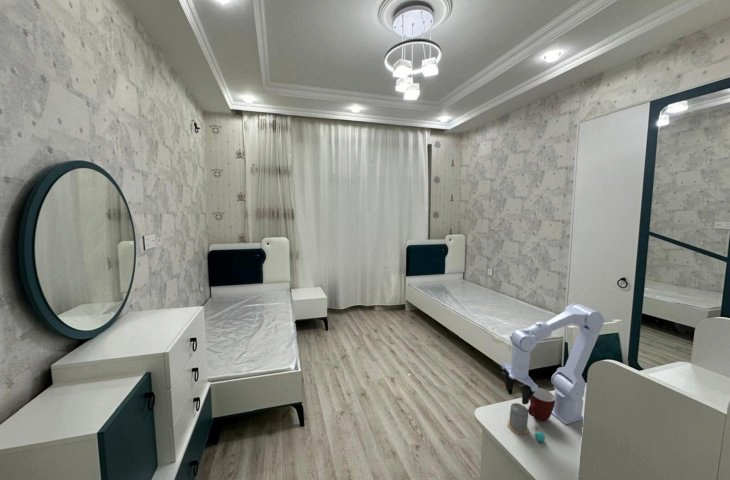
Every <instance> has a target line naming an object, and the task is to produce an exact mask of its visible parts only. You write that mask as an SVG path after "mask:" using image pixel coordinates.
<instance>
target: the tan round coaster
mask: <svg viewBox="0 0 730 480" xmlns="http://www.w3.org/2000/svg"><path fill="white" fill-rule="evenodd" d="M509 420H510V418H509V419H507V422H506V423H507V424H506V425H507V427H508V429H509V430H510V431H511V432H513V433H515V434H518V435H521V436H524V435H528V433H529V431H530V428H529V425H527V431H525V432H518V431H515V430H514V429H513V428H512V427H511V426H509Z"/></svg>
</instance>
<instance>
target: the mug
mask: <svg viewBox="0 0 730 480" xmlns="http://www.w3.org/2000/svg"><path fill="white" fill-rule="evenodd" d="M554 395H555V394H553V393H552V392H551V391H549V390H547V389H545V388H543V387H538V390H537V391H536V392H535V393H534V394H533V395H532V396H531V398H530V400H529V407H528V408H527V409H528V415H529V416H531V417H533V418H534V419H535V420H536V421H538V422H541V423H544V422H547V420H549V419H550V418H551V415H552V411H553V408H554V405H555V397H554Z"/></svg>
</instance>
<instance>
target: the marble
mask: <svg viewBox="0 0 730 480" xmlns="http://www.w3.org/2000/svg"><path fill="white" fill-rule="evenodd" d="M534 436H535V437H534V438H535V439H536V440H537V442H539V443H543V442H545V441H546V437H545V436H546V435H545V434H544V433H543V432H541V431H536V432H535V433H534Z"/></svg>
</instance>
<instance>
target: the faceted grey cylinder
mask: <svg viewBox="0 0 730 480" xmlns="http://www.w3.org/2000/svg"><path fill="white" fill-rule="evenodd" d="M528 409H529V408H527V407H526V406H525V405H524V404H521V403H517V402H515V403H514V402H513V403H511V405H510V409H509V410H510V411H509V419H510V420H509V419H508V420H509V426H511V427H512V428H513V429H514V430H515V431H518V432H525V431H527V426H528V422H529V412H528Z"/></svg>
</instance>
